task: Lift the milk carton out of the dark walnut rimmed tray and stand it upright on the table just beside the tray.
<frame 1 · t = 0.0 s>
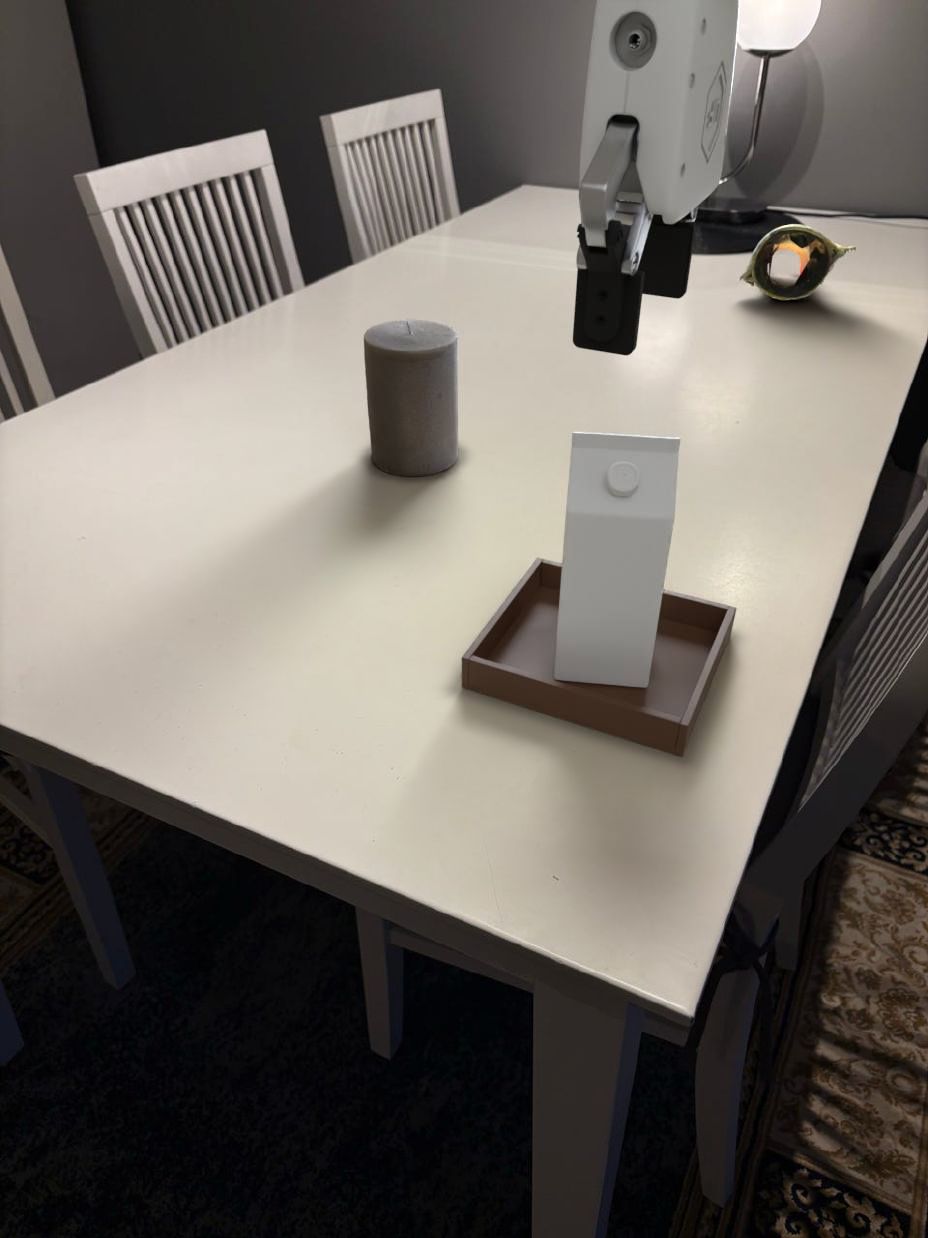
hand: (632, 319, 50), 29 cm above the table, tool pointing down, fingers open, 9 cm apart
pillar candle: (415, 457, 101), on the table
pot: (787, 293, 146), on the table
milk carton: (600, 658, 72), resting on tray
tray: (600, 661, 72), on the table
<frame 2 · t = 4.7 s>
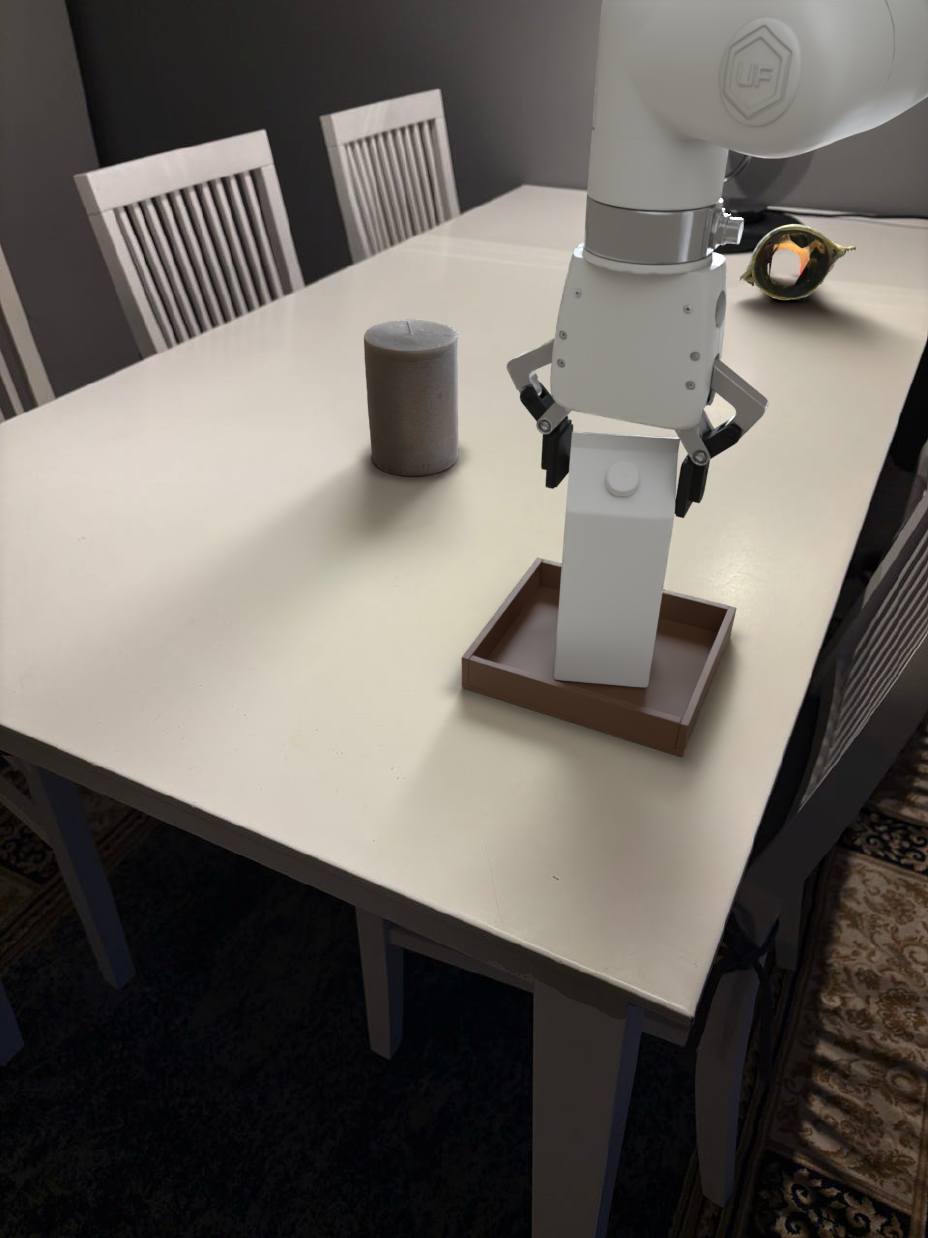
hand: (619, 493, 63), 15 cm above the table, tool pointing down, fingers closed on milk carton, 8 cm apart
milk carton: (600, 658, 72), resting on tray, touching gripper
everything else where it was.
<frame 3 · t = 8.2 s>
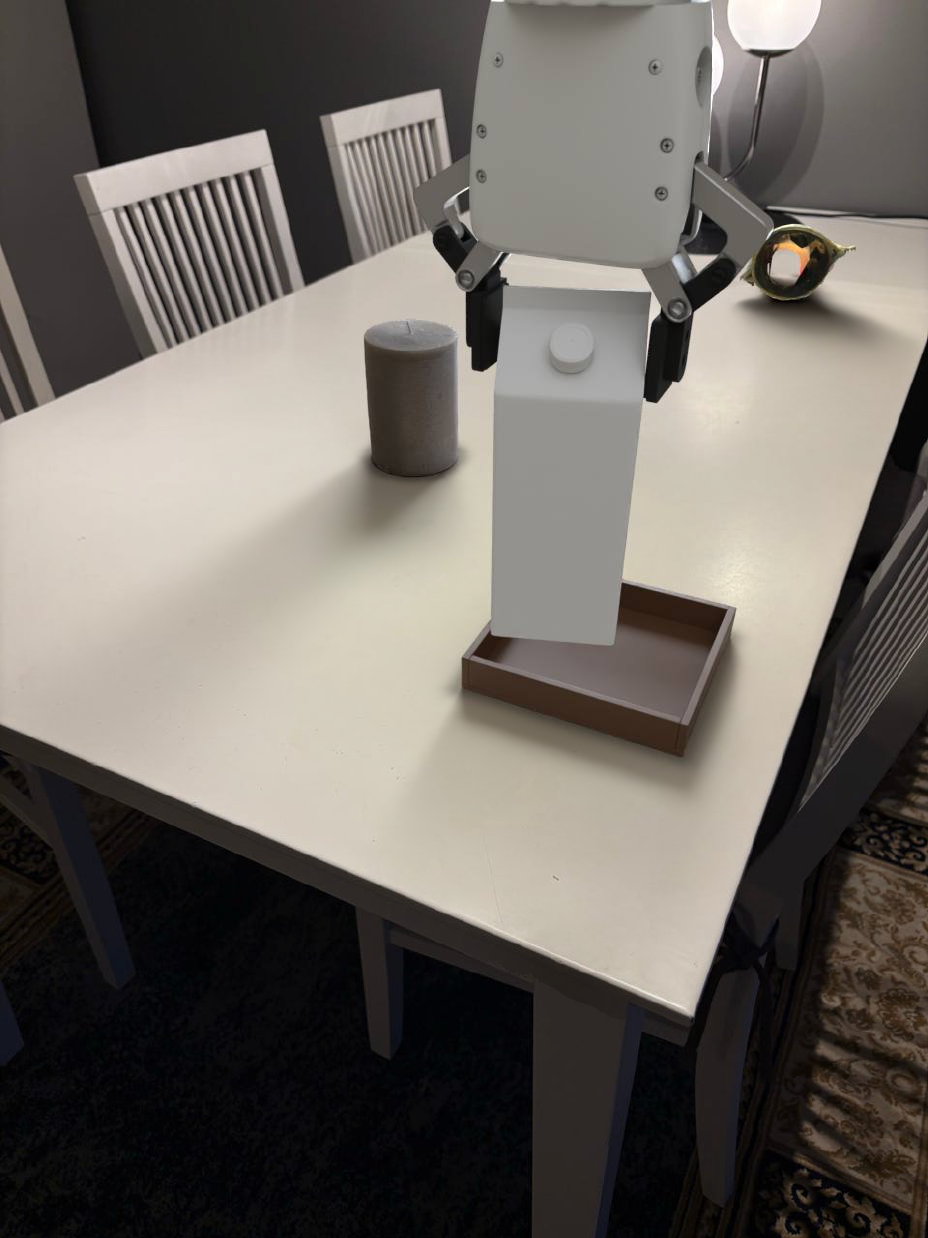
hand: (571, 376, 46), 28 cm above the table, tool pointing down, fingers closed on milk carton, 8 cm apart
milk carton: (555, 610, 55), point 13 cm above the table, touching gripper
everything else where it was.
when the fingers open (15 cm above the table, at t = 12.0 s): milk carton stays where it is, on the table.
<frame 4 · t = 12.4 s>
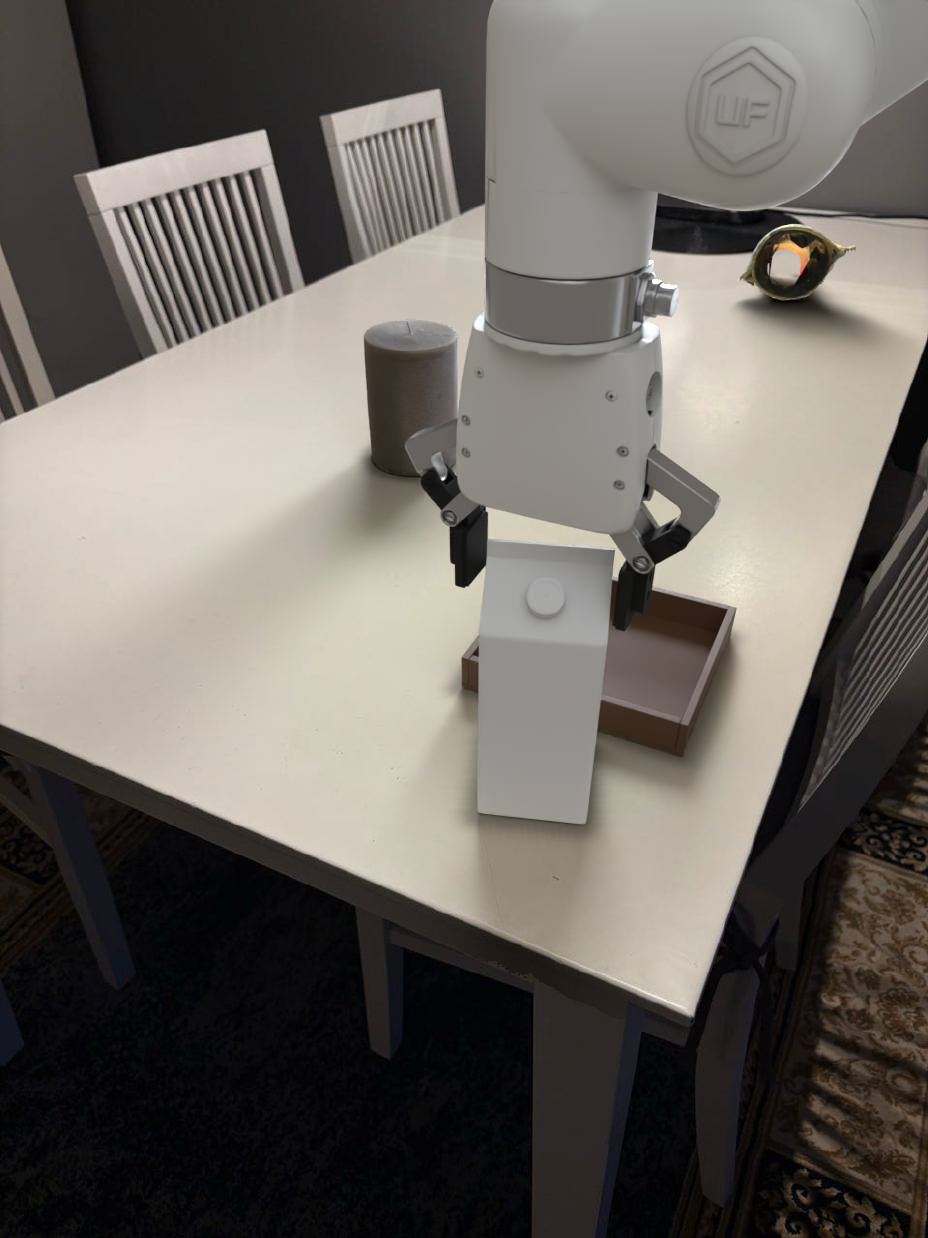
hand: (546, 595, 53), 15 cm above the table, tool pointing down, fingers open, 9 cm apart
milk carton: (535, 782, 62), on the table
everything else where it was.
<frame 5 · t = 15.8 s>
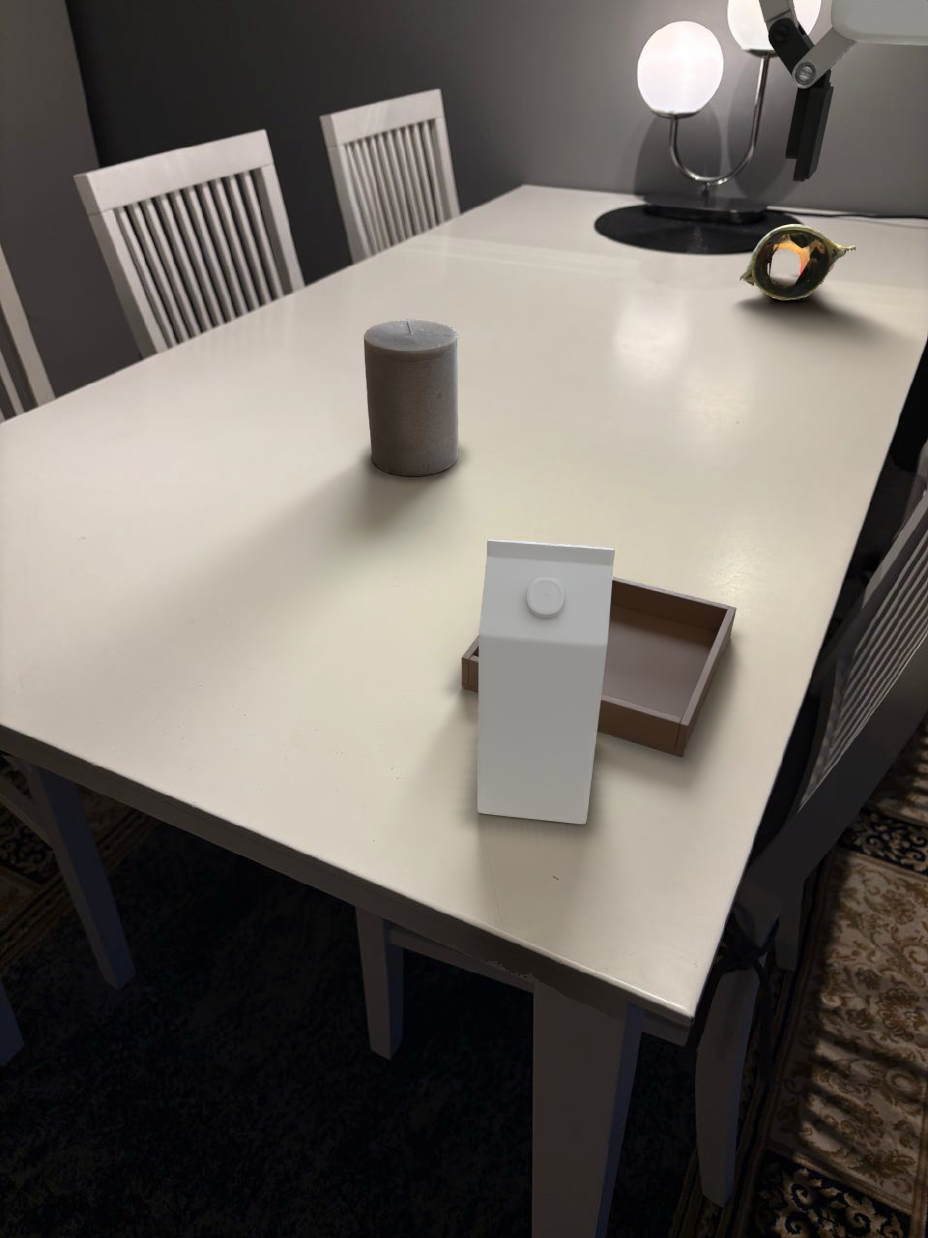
hand: (906, 185, 44), 36 cm above the table, tool pointing down, fingers open, 9 cm apart
nothing on the table moved.
at the end: milk carton inside the target area (0.1 cm from its centre), on the table; milk carton tilted 0°; milk carton touching table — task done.
